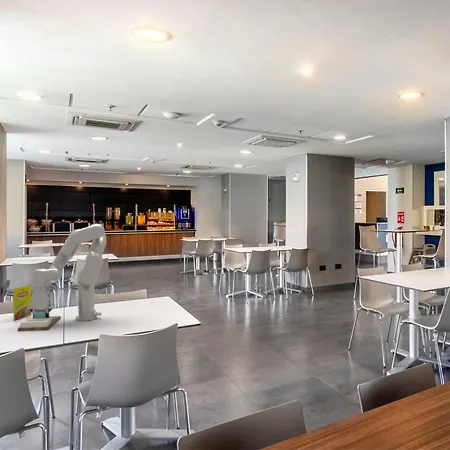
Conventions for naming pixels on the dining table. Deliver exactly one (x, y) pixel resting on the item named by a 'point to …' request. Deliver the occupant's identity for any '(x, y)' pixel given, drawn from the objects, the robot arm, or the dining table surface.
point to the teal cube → (40, 313)
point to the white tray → (35, 322)
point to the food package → (21, 302)
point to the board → (53, 321)
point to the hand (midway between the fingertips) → (41, 319)
